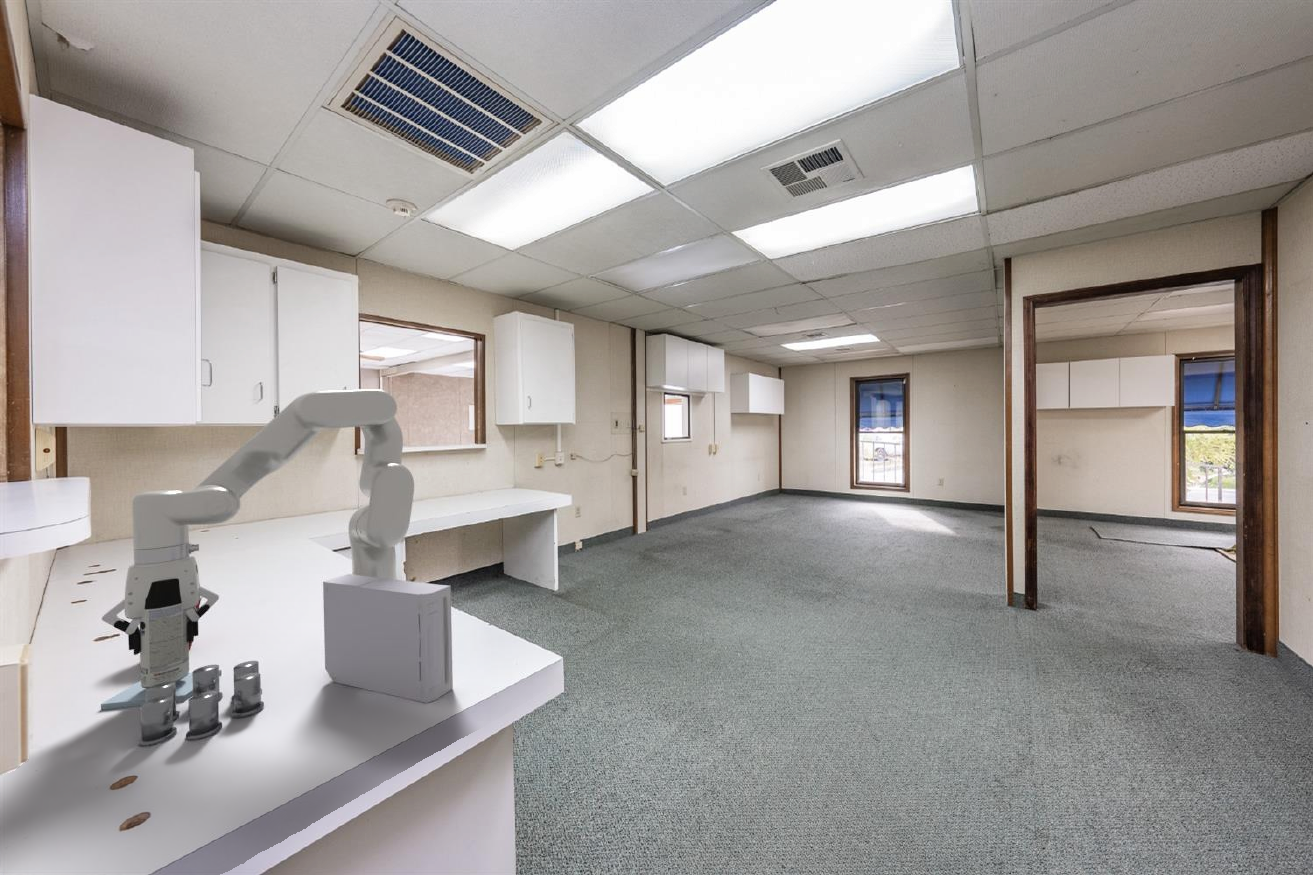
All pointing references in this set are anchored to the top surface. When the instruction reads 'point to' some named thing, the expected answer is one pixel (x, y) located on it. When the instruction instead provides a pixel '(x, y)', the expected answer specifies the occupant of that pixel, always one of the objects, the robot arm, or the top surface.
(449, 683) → the game console
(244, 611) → the top surface
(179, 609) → the spray can
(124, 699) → the pad
